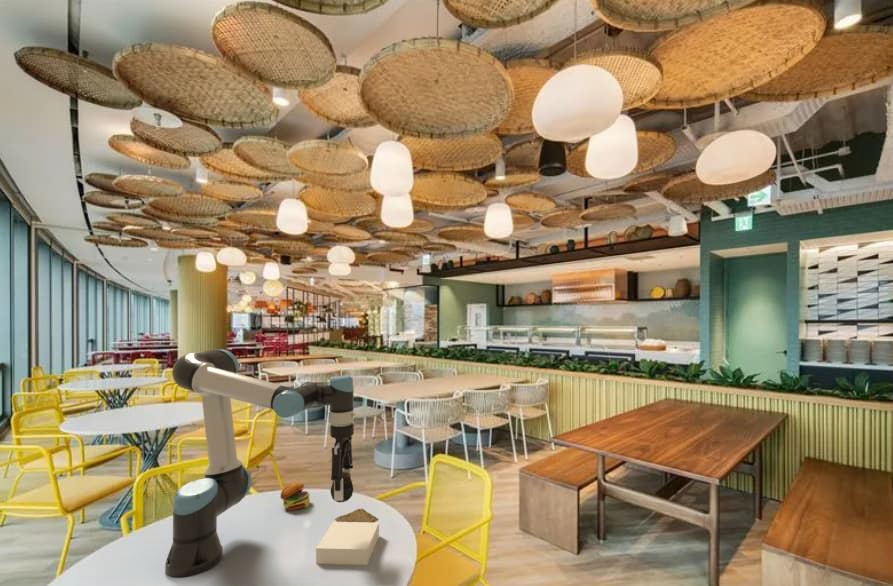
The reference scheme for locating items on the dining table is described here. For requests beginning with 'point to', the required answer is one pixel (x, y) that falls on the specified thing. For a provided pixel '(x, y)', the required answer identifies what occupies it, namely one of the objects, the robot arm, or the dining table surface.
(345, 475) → the mate gourd
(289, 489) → the cheeseburger
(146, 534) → the dining table surface
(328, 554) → the cream square slab
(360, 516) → the cookie
